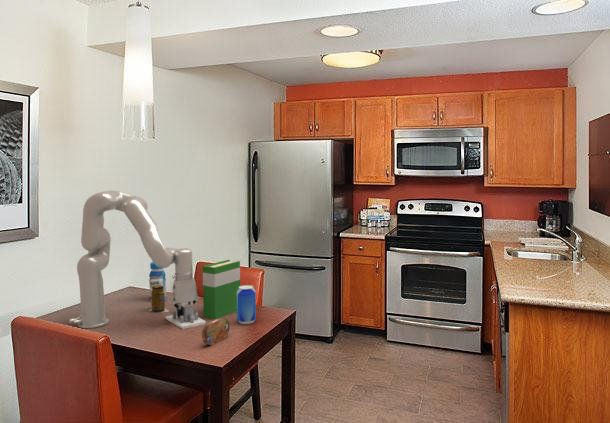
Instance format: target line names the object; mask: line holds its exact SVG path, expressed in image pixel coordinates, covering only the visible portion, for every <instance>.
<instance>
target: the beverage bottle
mask: <svg viewBox="0 0 610 423" xmlns="http://www.w3.org/2000/svg"><path fill="white" fill-rule="evenodd" d="M149 265H150V266H149V267H150V268H149V269H150V273H149V279H148V282H149V300H150V302H152V294H151V293H152V287H153V286H155V285H162V286H163V289H164V290H163V291H164V294H165V301H166V300H167V278H166V272H165V270H164V268H159V267H158V266H156V265H155V264H154V262H153V261H151V262H150V264H149Z"/></svg>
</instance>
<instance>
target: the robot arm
mask: <svg viewBox="0 0 610 423" xmlns="http://www.w3.org/2000/svg"><path fill="white" fill-rule="evenodd" d="M113 210H115V211H119V212H123V213H124V215H125V216H126V217H127V219H128V221H129V222H130V223H131V225H132V226H133V228H134V229H135V231H136V232H137V233H138V236H139V237H140V240H141V243H142V245H143V248H144V250H145V251H146V253H147V255H148V256H149V258H150V260H152V261H151V262H154V264H155V265H156V266H158V267H159V268H163V269H167V268H169V267H170V266H171V265H172V264H174V271H175V272H174V275H172V279H174V280H173V286H172V296H171V299H170V301H169V305H171V306H173V307H174V308H175V309H176V308H177V316H178V317H180V316H182V309H181V305H182V303H184V302H188V303H190V304H192V305H193V306H194V307H195V304H196V303H197V302H198V300H200V297H199V295H198V292H197V291H198V290H197V284H196V280H195V278H194V277H193V275H194V272H193V268H194V267H193V251H192V249H191V248H174V247H165V246H164V244H163V243H162V241H161V239H160V236H159V228H158V225H157V223H156V222H155V220H154V219H153V217H152V216H151V214H150V213H149V212H148V203H147V201H146V199H144V198H143V197H140V196H136V195H132V194H129V193H125V192H122V191H118V190H105V191H100V192H96V193H95V194H92V195H91V196H90V197H88V199H86V201H85V203H84V204H83V209H82V223H81V224H82V225H81V237H80V242H81V246H82V247H83V250H86V251H87V253H86V254H85V255H82V256H81V257H80V258H79V259H78V262H77V265H76V270H77V275H78V282H79V296H80V299H79V300H80V314H79V316H77V317H73V318H69V322H68V323H69V324H74V325H75V324H77V327H78V328H81V329H94V328H95V329H96V328H101V327H104V326H106V325H107V324H108V323H109V318H108V317H106V315H105V314H106V311H105V292H104V290H105V289H104V288H105V287H104V279H103V274H102V271H103V270H104V269H106V268H107V266H109V262H110V255H111V254H110V253H111V234H110V232H109V230H108V229H106V228H105V227H104V223H105V218H104V213H105V212H108V211H109V212H110V211H113Z"/></svg>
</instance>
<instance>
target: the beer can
mask: <svg viewBox="0 0 610 423" xmlns="http://www.w3.org/2000/svg"><path fill="white" fill-rule="evenodd" d="M256 299H257V298H256V289H255V288H254V285H249V284H245V285H240V286H239V289H238V291H237V311H236V320H237V321H238V323H239V324H241V325H250V324H254V322H255V321H256V318H257V308H256V306H257V303H256Z"/></svg>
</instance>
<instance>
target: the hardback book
mask: <svg viewBox="0 0 610 423" xmlns="http://www.w3.org/2000/svg"><path fill="white" fill-rule="evenodd" d="M239 286H241V261H240V260H237V261H231V260H230V259H225V260H221V261H218V262H213V263H210V264H206V265H202V295H203V296H202V297H203V298H202V299H203V301H202V303H203V305H202V306H203V307H202V308H203V318H207V319H210V320H211V319H212V320H216V319H218V318H224V317H226V316H228V315H230V314H233V313H235V312H236V313H237V291H238V289H239Z"/></svg>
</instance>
